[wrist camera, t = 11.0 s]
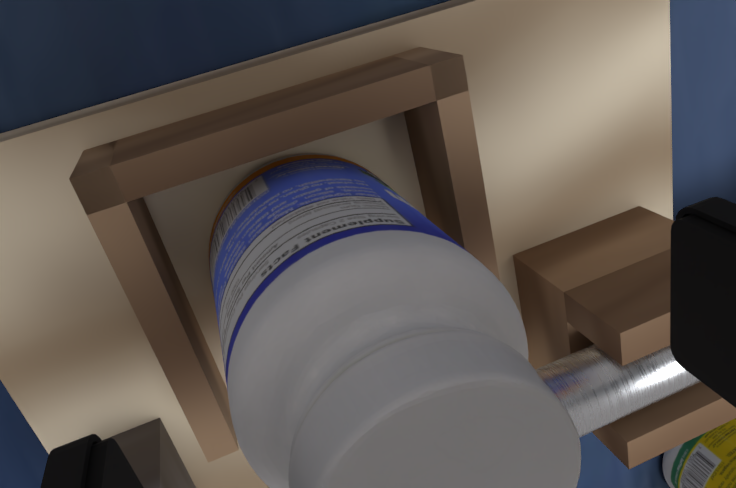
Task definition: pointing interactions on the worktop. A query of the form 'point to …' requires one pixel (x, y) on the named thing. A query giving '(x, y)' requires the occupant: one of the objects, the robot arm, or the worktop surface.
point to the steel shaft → (612, 384)
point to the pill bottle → (372, 343)
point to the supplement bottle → (704, 460)
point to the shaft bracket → (385, 160)
